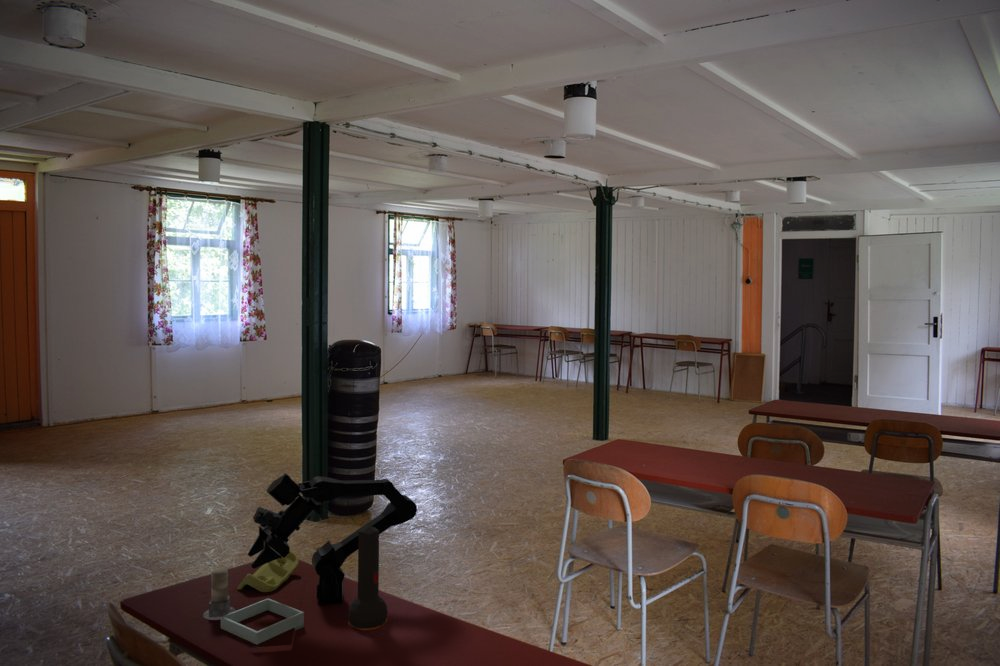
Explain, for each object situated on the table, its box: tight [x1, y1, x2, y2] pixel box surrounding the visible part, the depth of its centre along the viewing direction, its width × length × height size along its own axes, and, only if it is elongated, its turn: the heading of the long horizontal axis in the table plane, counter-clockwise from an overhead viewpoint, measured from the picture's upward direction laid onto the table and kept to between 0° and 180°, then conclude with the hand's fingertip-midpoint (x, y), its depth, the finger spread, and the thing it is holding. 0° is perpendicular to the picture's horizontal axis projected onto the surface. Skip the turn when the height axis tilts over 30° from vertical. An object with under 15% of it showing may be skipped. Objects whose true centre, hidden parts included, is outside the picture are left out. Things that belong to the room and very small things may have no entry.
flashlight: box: [347, 526, 388, 630], centre depth 187 cm, size 10×25×10 cm
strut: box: [208, 568, 231, 617], centre depth 188 cm, size 4×4×11 cm
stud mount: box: [202, 606, 237, 621], centre depth 188 cm, size 8×8×4 cm
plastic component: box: [236, 550, 299, 593], centre depth 212 cm, size 20×7×10 cm
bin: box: [220, 597, 305, 649], centre depth 182 cm, size 14×14×4 cm
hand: (250, 561), depth 191 cm, fingers open, 9 cm apart
